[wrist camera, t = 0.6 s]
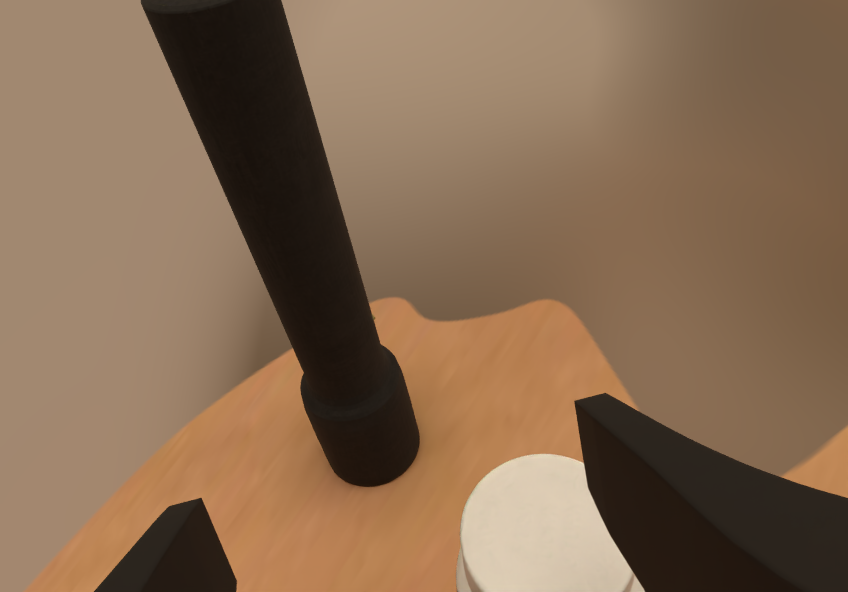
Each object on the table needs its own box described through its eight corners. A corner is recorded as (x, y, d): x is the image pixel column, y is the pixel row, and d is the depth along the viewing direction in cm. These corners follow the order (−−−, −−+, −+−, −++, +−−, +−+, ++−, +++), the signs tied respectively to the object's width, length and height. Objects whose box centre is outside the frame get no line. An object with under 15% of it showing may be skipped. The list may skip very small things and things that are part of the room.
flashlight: (370, 505, 33) (439, 438, 35) (170, 33, 15) (331, -43, 18) (309, 449, 35) (376, 389, 37) (82, -5, 18) (229, -67, 20)
